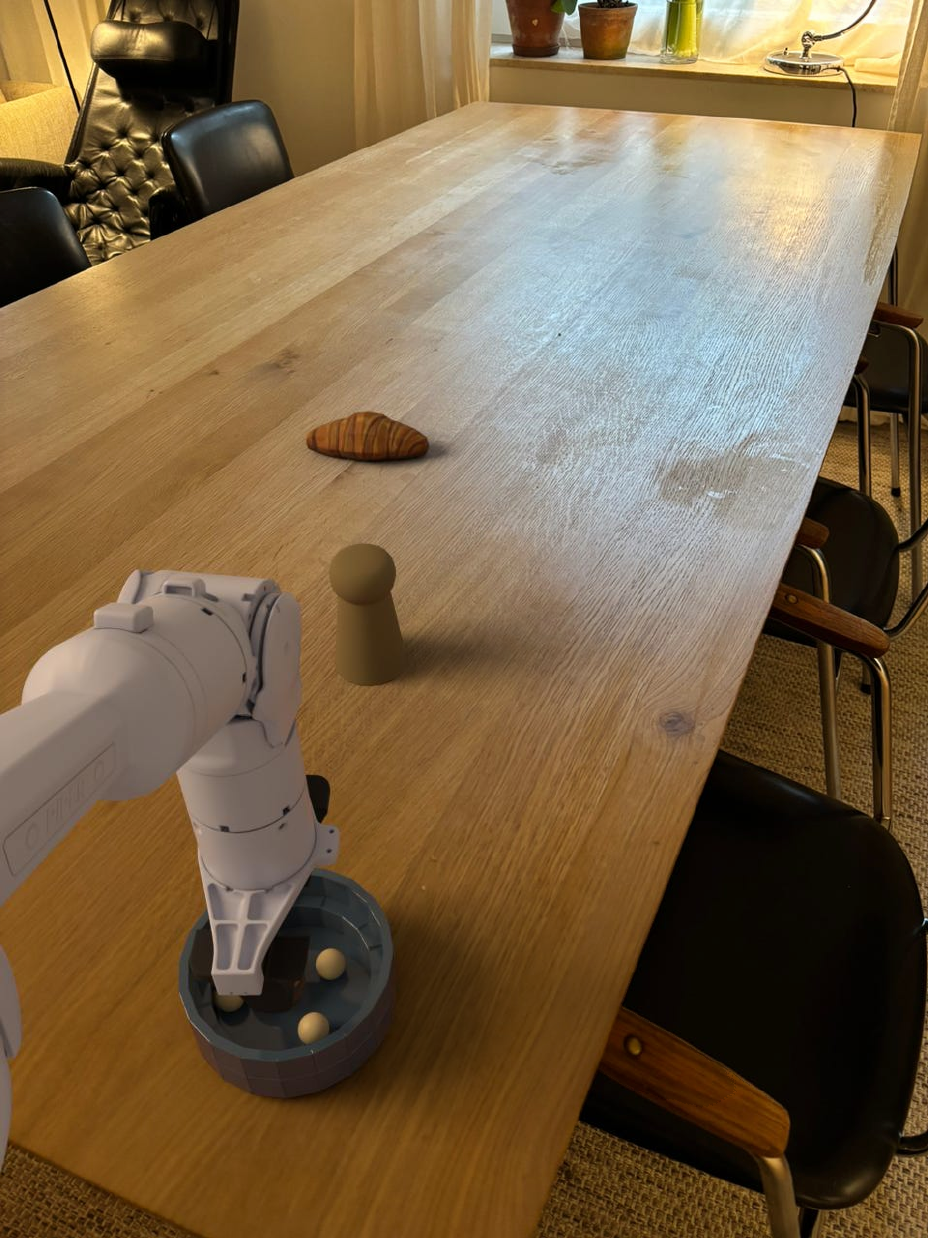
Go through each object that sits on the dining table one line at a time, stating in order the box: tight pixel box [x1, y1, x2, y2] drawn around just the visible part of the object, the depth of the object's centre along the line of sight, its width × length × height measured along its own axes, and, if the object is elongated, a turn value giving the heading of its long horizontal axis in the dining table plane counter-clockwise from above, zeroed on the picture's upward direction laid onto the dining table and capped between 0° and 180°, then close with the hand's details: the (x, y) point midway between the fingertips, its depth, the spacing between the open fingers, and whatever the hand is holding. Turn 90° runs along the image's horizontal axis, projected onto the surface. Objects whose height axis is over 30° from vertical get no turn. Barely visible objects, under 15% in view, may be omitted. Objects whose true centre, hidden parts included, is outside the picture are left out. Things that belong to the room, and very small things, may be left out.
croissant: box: [305, 410, 430, 462], centre depth 106 cm, size 14×7×5 cm, turn 84°
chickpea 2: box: [298, 1012, 329, 1045], centre depth 57 cm, size 2×2×2 cm
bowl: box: [177, 867, 399, 1099], centre depth 59 cm, size 12×12×5 cm
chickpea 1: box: [214, 989, 244, 1012], centre depth 59 cm, size 2×2×2 cm
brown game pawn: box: [328, 542, 408, 687], centre depth 80 cm, size 6×6×11 cm
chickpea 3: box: [316, 948, 346, 980], centre depth 60 cm, size 2×2×2 cm
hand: (282, 940), depth 56 cm, fingers open, 7 cm apart
